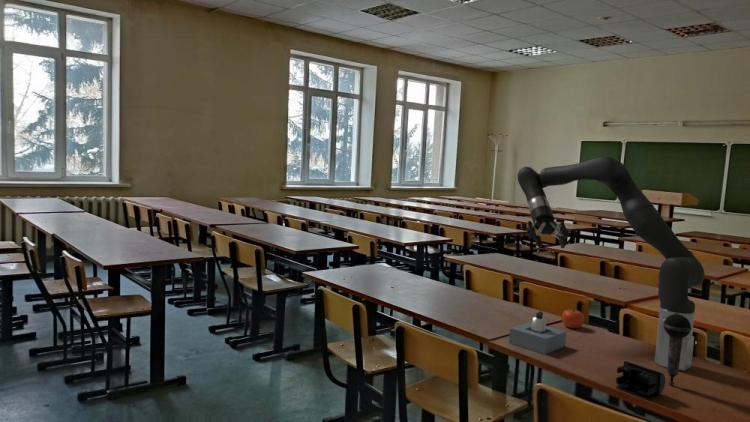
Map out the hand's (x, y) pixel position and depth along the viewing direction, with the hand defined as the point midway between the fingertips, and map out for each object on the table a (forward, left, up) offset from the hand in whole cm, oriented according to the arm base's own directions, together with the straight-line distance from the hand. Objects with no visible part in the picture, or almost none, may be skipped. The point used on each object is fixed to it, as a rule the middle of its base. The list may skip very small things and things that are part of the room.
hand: (552, 246), depth 192 cm
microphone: (-47, +15, -31) cm, 58 cm away
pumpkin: (-3, -14, -31) cm, 34 cm away
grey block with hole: (-6, +16, -31) cm, 35 cm away
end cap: (-43, +27, -31) cm, 60 cm away
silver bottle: (-6, +16, -31) cm, 35 cm away
